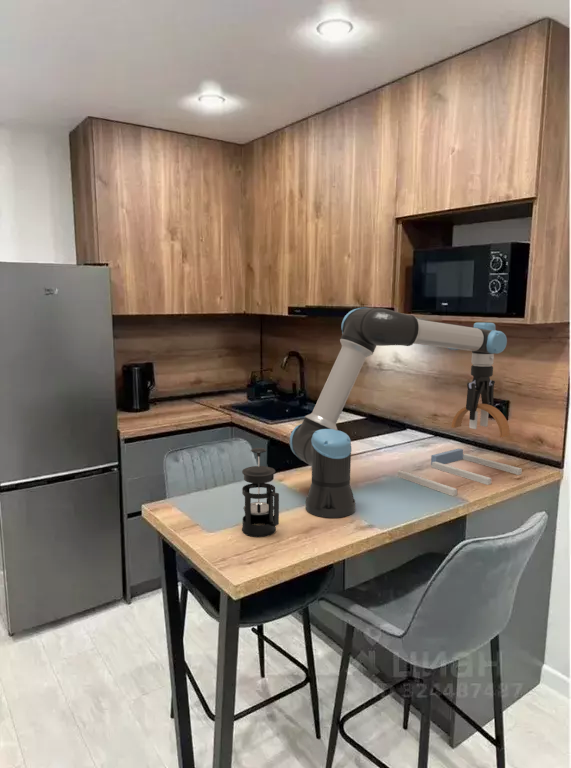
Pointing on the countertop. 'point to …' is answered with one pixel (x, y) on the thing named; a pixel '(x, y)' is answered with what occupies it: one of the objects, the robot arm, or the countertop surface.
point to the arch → (491, 410)
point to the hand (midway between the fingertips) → (478, 427)
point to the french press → (259, 510)
